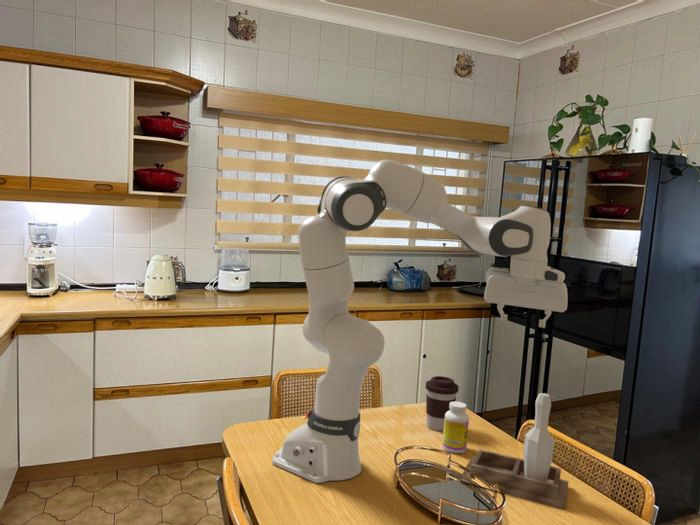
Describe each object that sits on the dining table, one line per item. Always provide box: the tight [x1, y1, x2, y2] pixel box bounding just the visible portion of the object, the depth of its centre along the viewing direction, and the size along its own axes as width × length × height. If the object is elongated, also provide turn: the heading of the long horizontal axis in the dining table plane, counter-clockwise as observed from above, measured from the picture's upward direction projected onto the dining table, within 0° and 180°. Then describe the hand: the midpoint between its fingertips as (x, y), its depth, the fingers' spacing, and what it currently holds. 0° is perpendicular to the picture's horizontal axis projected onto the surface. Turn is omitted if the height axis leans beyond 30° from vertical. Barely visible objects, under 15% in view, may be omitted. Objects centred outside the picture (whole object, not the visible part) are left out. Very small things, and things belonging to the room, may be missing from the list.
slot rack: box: [461, 448, 569, 510], centre depth 135 cm, size 24×12×4 cm, turn 66°
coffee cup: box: [425, 375, 460, 432], centre depth 168 cm, size 10×10×15 cm
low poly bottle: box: [523, 392, 555, 482], centre depth 132 cm, size 6×6×22 cm
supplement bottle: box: [441, 401, 470, 454], centre depth 153 cm, size 7×7×13 cm
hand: (522, 324), depth 141 cm, fingers open, 8 cm apart
